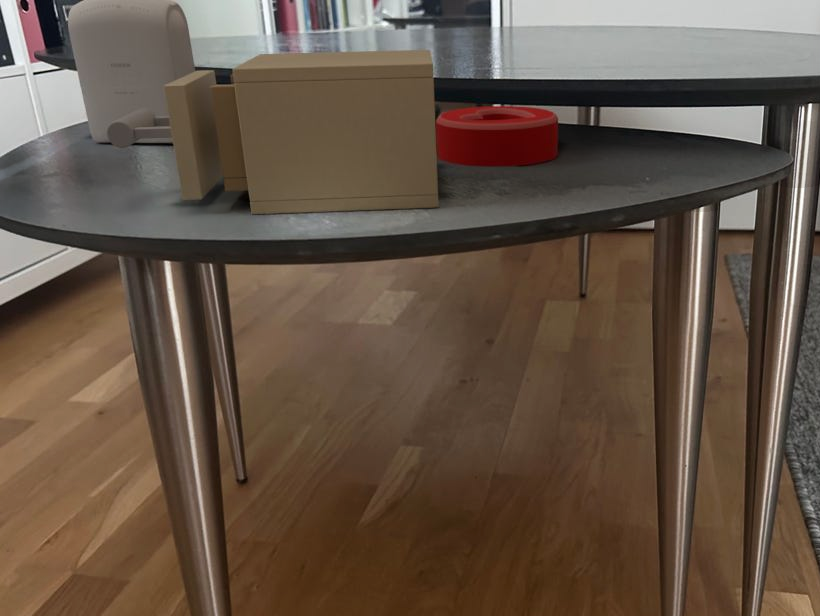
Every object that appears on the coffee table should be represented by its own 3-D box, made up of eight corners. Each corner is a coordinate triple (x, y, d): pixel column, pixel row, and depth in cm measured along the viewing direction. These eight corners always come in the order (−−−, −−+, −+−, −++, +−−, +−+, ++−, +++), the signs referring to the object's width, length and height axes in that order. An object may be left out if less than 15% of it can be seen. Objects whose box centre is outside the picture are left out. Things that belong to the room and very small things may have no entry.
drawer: (111, 202, 52) (88, 87, 49) (149, 173, 60) (131, 72, 57) (353, 194, 53) (343, 80, 50) (360, 166, 61) (352, 66, 58)
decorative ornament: (558, 166, 64) (559, 123, 62) (431, 167, 64) (429, 124, 63) (556, 143, 72) (557, 104, 71) (443, 143, 73) (442, 105, 72)
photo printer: (84, 145, 76) (52, -6, 70) (112, 136, 79) (84, -8, 74) (189, 147, 74) (165, -8, 68) (213, 138, 77) (191, -10, 72)
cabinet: (251, 214, 53) (231, 68, 49) (274, 180, 61) (259, 53, 58) (438, 207, 53) (433, 63, 50) (434, 174, 62) (429, 49, 58)
